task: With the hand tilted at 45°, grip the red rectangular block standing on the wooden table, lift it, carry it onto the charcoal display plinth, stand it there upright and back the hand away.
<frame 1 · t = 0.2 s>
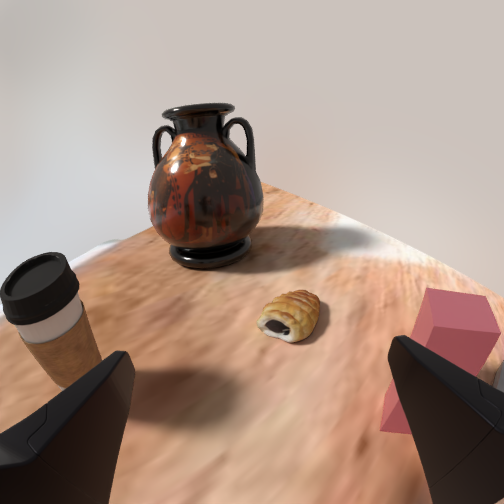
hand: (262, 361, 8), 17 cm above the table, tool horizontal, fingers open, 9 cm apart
pastry: (290, 324, 35), on the table
red rectangular block: (408, 415, 20), on the table
coffee cup: (89, 388, 25), on the table
amphora vase: (211, 252, 56), on the table
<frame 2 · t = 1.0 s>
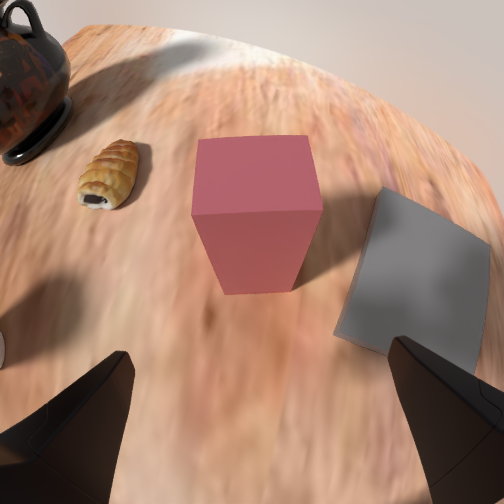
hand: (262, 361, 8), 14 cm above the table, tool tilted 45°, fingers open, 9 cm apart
pastry: (113, 184, 29), on the table
red rectangular block: (256, 268, 24), on the table
display plinth: (425, 287, 23), on the table
amphora vase: (39, 133, 35), on the table
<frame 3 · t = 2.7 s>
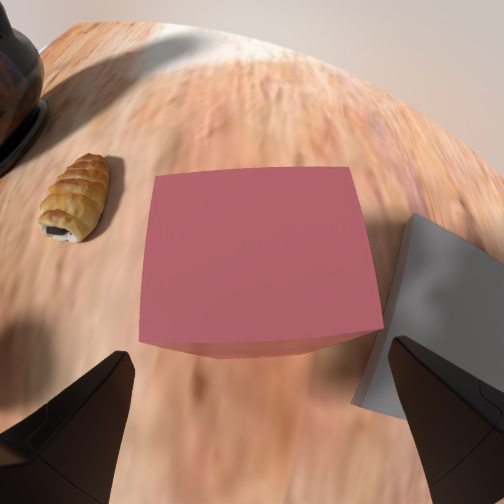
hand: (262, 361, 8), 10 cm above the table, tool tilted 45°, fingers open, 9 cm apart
pastry: (81, 208, 23), on the table
red rectangular block: (257, 324, 19), on the table
display plinth: (456, 335, 17), on the table
amphora vase: (13, 143, 29), on the table
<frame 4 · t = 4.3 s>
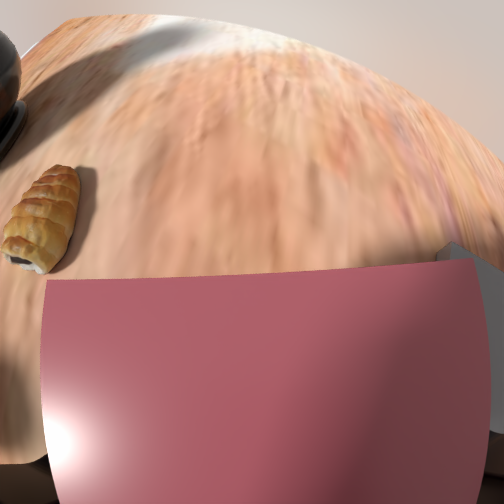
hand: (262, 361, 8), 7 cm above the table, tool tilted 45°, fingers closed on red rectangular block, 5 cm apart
pastry: (49, 230, 19), on the table
red rectangular block: (261, 386, 14), on the table, touching gripper
display plinth: (485, 380, 13), on the table
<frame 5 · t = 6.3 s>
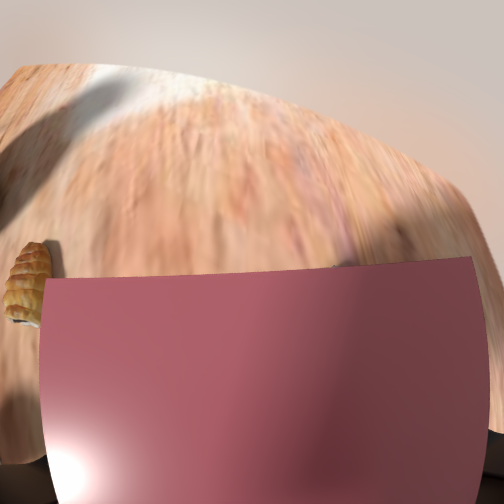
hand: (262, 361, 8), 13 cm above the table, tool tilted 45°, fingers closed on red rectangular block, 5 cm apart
pastry: (36, 293, 24), on the table
red rectangular block: (260, 386, 14), point 7 cm above the table, touching gripper
when the fingers open (10 cm above the table, at t = 8.5 s): red rectangular block drops 1 cm, resting on display plinth.
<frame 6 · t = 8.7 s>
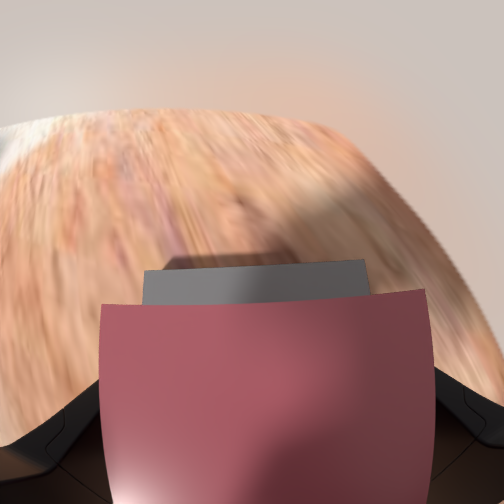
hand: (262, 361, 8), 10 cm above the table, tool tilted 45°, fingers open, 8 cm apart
red rectangular block: (261, 384, 15), point 2 cm above the table, touching display plinth
display plinth: (260, 381, 17), on the table
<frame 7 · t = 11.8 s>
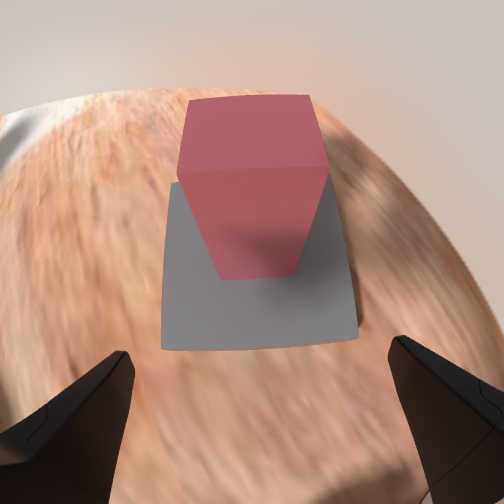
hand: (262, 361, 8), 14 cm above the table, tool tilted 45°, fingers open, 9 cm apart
red rectangular block: (255, 251, 22), point 2 cm above the table, touching display plinth
display plinth: (255, 260, 24), on the table
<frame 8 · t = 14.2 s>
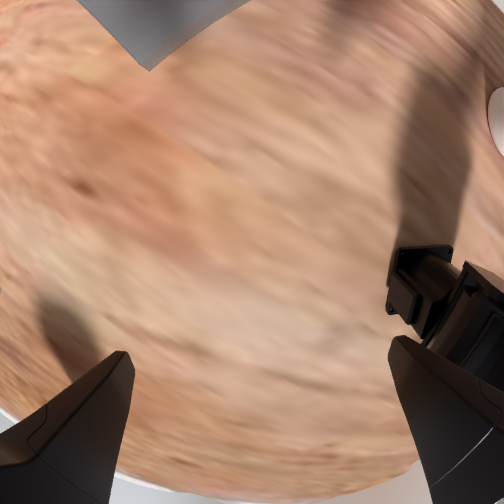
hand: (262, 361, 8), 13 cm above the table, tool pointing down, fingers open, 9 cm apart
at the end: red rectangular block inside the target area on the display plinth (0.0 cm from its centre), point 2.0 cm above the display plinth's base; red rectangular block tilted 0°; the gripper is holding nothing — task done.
